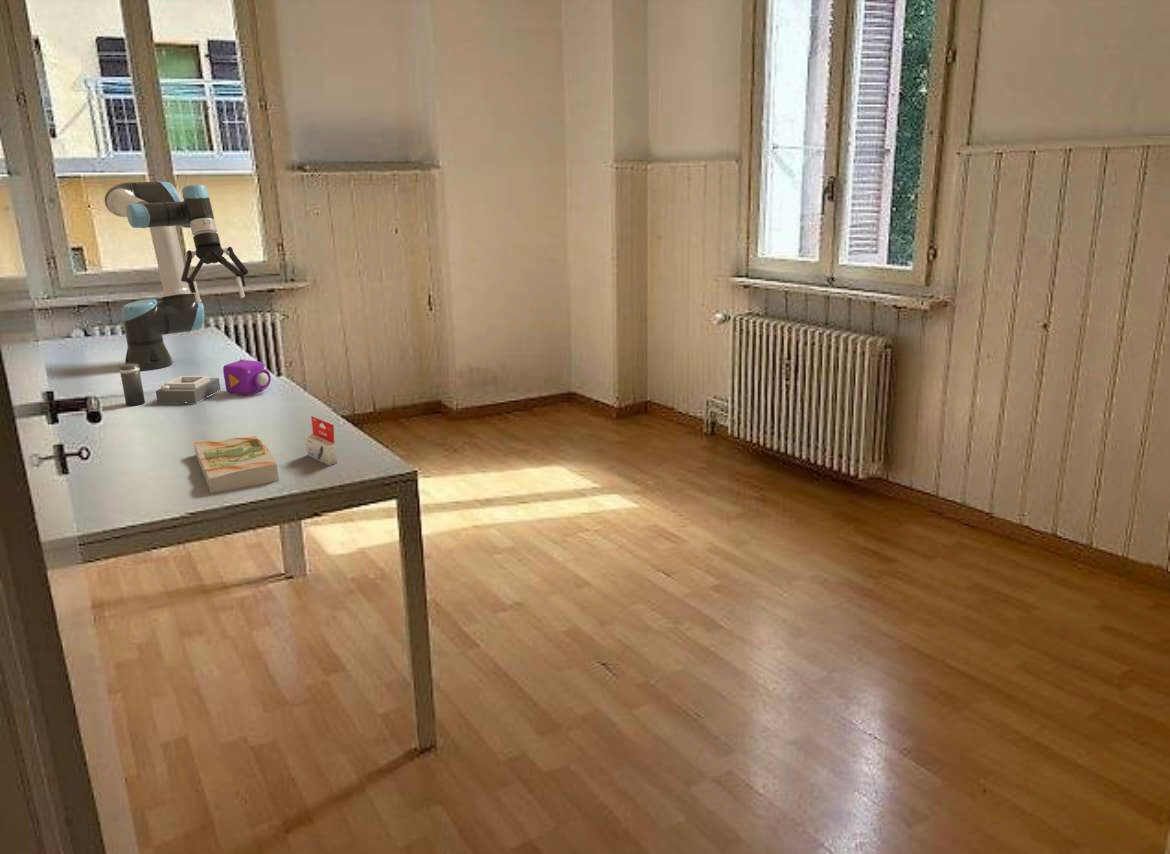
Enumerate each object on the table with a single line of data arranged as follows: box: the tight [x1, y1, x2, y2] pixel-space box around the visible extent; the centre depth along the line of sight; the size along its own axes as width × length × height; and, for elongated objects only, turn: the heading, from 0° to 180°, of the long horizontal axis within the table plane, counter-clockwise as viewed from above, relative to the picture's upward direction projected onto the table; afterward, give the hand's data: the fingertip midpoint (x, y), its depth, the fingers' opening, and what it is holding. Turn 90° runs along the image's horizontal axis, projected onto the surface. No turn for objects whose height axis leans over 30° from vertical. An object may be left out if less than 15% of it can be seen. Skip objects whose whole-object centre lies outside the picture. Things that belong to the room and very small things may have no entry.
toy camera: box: [222, 357, 272, 396], centre depth 273 cm, size 11×14×10 cm
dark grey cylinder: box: [118, 363, 146, 407], centre depth 261 cm, size 5×5×12 cm
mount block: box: [155, 375, 221, 404], centre depth 269 cm, size 16×12×6 cm
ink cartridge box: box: [304, 416, 338, 466], centre depth 210 cm, size 2×11×10 cm, turn 45°
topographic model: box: [193, 435, 280, 494], centre depth 206 cm, size 30×14×5 cm, turn 29°
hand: (221, 300), depth 277 cm, fingers open, 13 cm apart
